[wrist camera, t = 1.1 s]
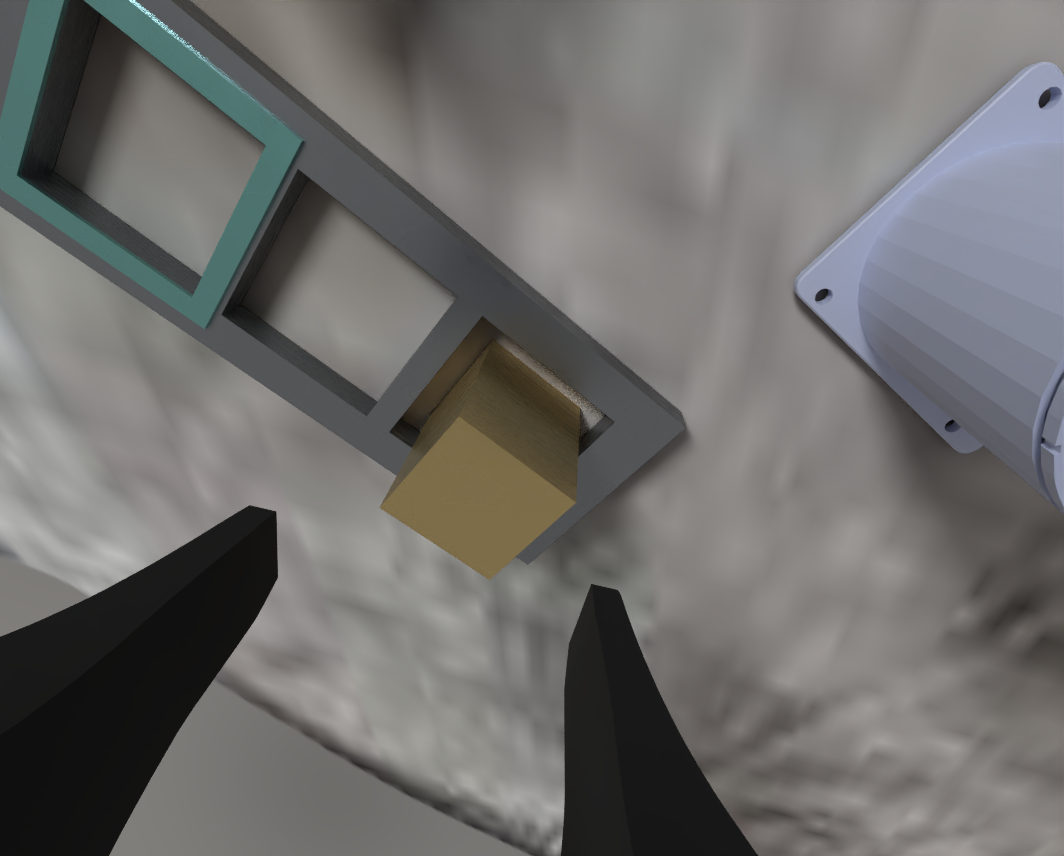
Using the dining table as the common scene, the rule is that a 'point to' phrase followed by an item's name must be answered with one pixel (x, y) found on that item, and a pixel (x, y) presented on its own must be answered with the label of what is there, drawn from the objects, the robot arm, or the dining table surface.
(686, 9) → the dining table surface
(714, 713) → the dining table surface
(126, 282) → the grey grid frame
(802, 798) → the dining table surface
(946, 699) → the dining table surface
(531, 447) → the mustard tan rectangular block
